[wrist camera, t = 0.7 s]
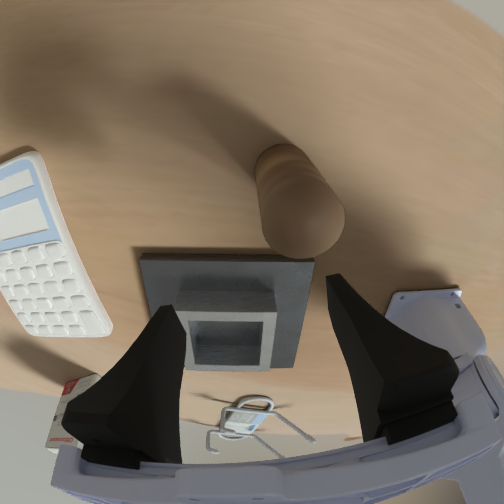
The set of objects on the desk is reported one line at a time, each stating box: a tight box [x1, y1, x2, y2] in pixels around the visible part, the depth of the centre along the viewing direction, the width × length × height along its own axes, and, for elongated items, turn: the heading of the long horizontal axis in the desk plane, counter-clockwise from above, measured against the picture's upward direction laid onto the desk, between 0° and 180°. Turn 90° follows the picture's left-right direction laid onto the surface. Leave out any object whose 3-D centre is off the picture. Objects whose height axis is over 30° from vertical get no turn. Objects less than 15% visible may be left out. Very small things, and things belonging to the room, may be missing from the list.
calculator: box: [0, 151, 113, 337], centre depth 24 cm, size 13×20×2 cm, turn 7°
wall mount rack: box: [206, 396, 316, 459], centre depth 39 cm, size 16×14×6 cm
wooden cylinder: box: [255, 144, 345, 259], centre depth 18 cm, size 4×4×8 cm
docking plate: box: [139, 253, 315, 372], centre depth 27 cm, size 14×14×4 cm
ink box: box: [45, 374, 102, 455], centre depth 31 cm, size 9×5×12 cm, turn 119°
